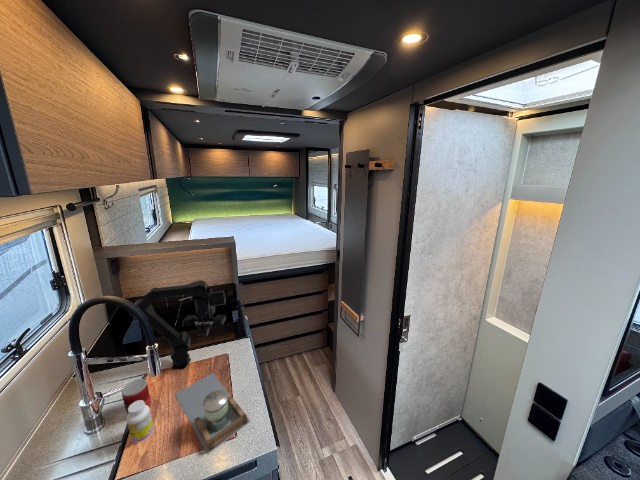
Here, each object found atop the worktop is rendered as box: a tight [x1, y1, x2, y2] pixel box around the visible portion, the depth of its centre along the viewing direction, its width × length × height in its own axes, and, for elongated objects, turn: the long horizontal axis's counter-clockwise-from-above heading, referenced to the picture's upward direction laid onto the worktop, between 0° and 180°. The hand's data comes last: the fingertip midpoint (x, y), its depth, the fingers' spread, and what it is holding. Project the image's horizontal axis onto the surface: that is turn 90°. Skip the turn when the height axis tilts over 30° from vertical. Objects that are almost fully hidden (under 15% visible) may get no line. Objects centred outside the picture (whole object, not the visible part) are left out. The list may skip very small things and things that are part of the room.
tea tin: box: [203, 390, 230, 432], centre depth 92 cm, size 8×8×10 cm
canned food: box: [121, 378, 152, 416], centre depth 98 cm, size 8×8×11 cm
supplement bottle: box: [125, 400, 155, 444], centre depth 88 cm, size 7×7×13 cm
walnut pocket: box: [195, 395, 248, 451], centre depth 92 cm, size 12×14×3 cm
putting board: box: [174, 372, 252, 455], centre depth 99 cm, size 34×16×1 cm, turn 46°
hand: (206, 335), depth 123 cm, fingers closed
